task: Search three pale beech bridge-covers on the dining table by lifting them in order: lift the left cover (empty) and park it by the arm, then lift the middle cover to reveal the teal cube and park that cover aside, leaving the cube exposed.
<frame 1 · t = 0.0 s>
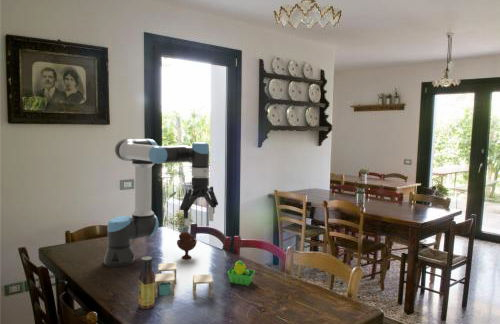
hand: (199, 223, 173), 28 cm above the table, fingers open, 13 cm apart
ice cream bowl: (186, 258, 209), on the table
cover C: (202, 294, 163), on the table
cover B: (164, 292, 164), on the table
fruit basket: (240, 283, 177), on the table
sauce bottle: (146, 306, 151), on the table
cover A: (167, 281, 176), on the table
teal cube: (164, 293, 164), on the table
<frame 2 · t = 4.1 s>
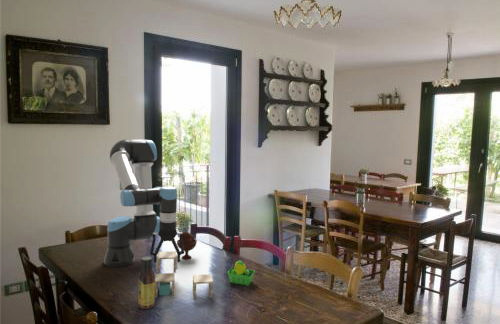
hand: (166, 268, 177), 6 cm above the table, fingers closed on cover A, 8 cm apart
cover A: (166, 269, 177), point 5 cm above the table, touching gripper
everything else where it was.
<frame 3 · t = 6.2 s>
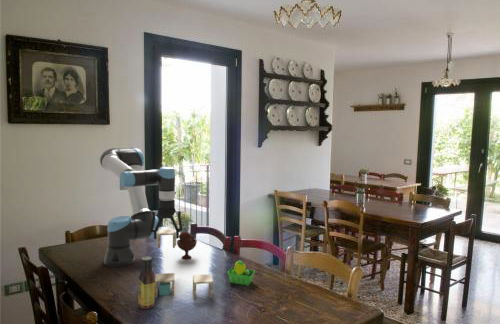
hand: (166, 245, 186), 14 cm above the table, fingers closed on cover A, 8 cm apart
cover A: (166, 245, 186), point 13 cm above the table, touching gripper
everything else where it was.
when the fingers open (1 cm above the table, at t = 8.3 s): cover A stays where it is, on the table.
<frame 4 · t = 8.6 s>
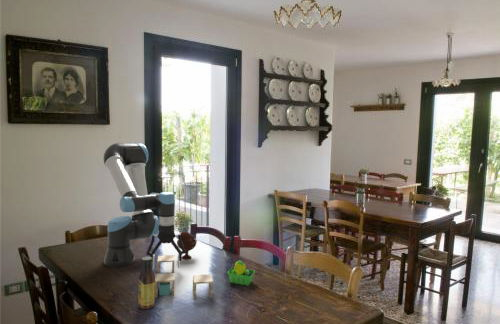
hand: (166, 267, 188), 2 cm above the table, fingers open, 11 cm apart
cover A: (166, 272, 188), on the table
everything else where it was.
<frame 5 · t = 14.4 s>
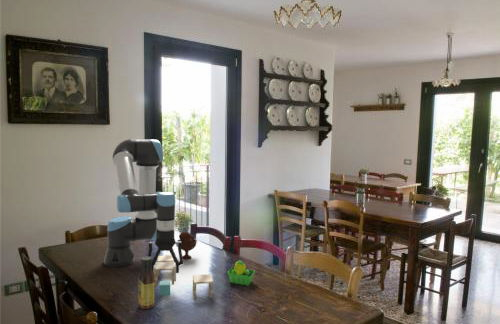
hand: (164, 280, 164), 5 cm above the table, fingers closed on cover B, 8 cm apart
cover B: (164, 281, 164), point 5 cm above the table, touching gripper
everything else where it was.
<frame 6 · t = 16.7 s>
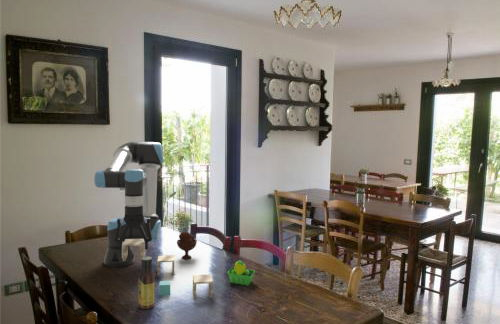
hand: (133, 256, 165), 15 cm above the table, fingers closed on cover B, 8 cm apart
cover B: (133, 257, 165), point 14 cm above the table, touching gripper
everything else where it was.
when the fingers open (1 cm above the table, at t = 19.0 s): cover B stays where it is, on the table.
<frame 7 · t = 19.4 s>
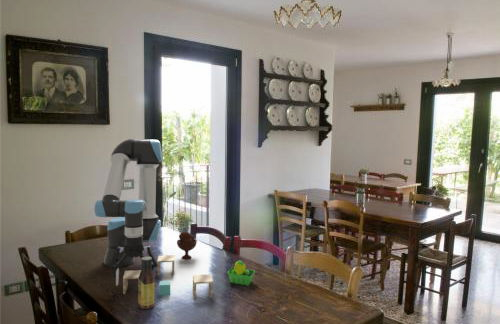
hand: (133, 283, 166), 3 cm above the table, fingers open, 13 cm apart
cover B: (133, 289, 166), on the table
everything else where it was.
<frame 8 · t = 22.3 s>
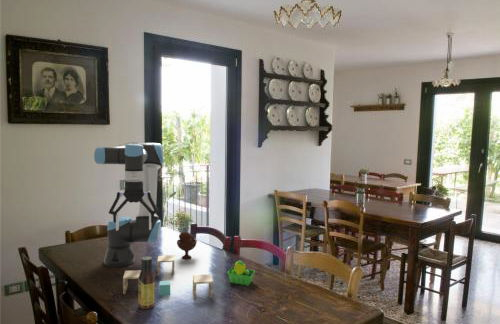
hand: (133, 229, 164), 27 cm above the table, fingers open, 13 cm apart
nothing on the table moved.
at the end: cover B inside the target area (0.6 cm from its centre), on the table; teal cube moved 0.1 cm from its start; cover A inside the target area (0.5 cm from its centre), on the table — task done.
